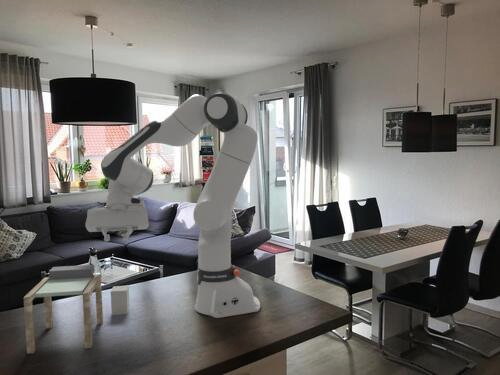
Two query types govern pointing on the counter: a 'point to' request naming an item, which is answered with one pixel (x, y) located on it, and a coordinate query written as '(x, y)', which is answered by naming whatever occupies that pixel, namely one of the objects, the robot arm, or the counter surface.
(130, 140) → the robot arm
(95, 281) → the frame
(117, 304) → the stone
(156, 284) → the counter surface
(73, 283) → the trapdoor
